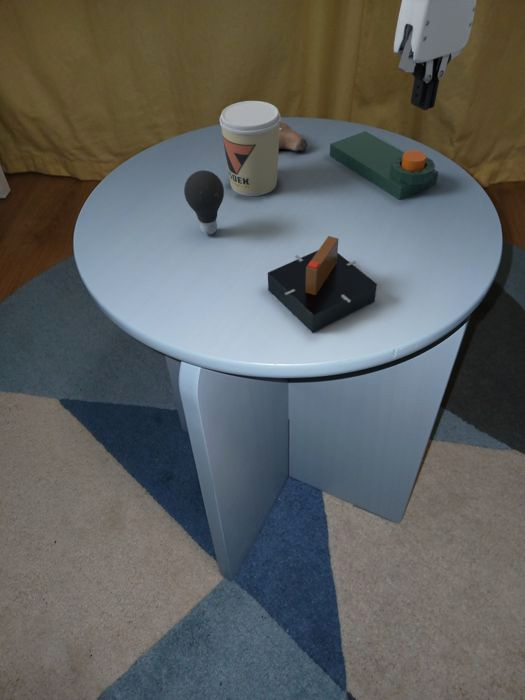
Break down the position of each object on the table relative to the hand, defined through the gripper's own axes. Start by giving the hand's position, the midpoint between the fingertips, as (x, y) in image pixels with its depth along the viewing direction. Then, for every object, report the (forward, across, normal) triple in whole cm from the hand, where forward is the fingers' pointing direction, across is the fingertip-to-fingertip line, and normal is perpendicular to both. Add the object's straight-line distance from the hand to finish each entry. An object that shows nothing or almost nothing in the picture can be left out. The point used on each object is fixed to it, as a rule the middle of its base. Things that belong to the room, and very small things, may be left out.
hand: (422, 105), depth 81 cm
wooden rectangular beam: (+10, +28, +13) cm, 33 cm away
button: (+9, 0, 0) cm, 9 cm away
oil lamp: (+13, +9, -24) cm, 29 cm away
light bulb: (+13, +33, -8) cm, 36 cm away
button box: (+13, 0, -6) cm, 15 cm away
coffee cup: (+13, +20, -16) cm, 29 cm away
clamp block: (+13, +28, +14) cm, 34 cm away
